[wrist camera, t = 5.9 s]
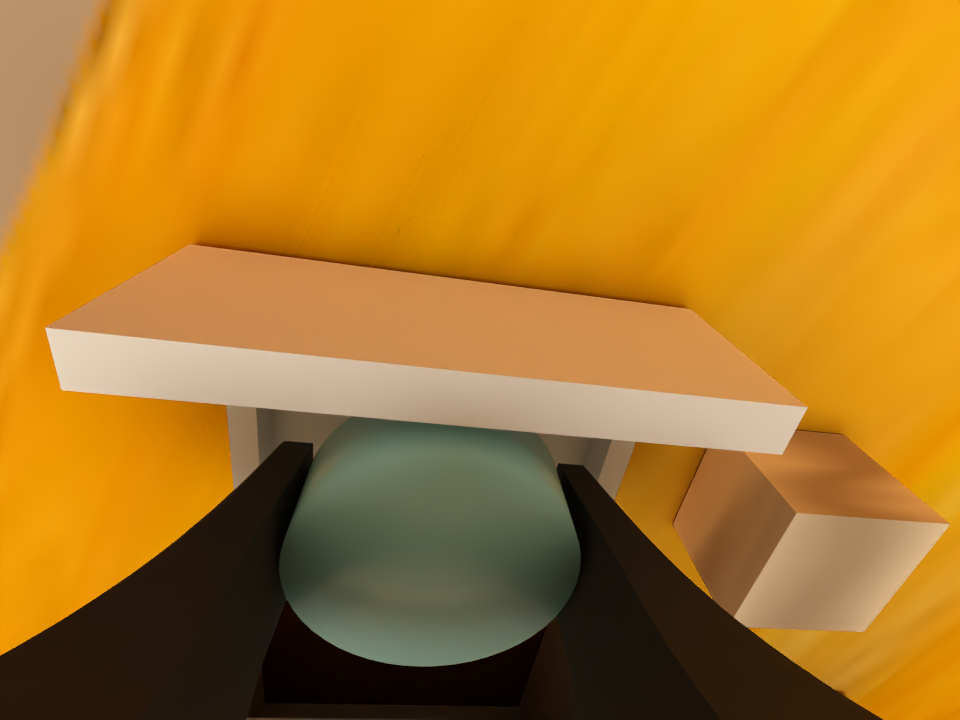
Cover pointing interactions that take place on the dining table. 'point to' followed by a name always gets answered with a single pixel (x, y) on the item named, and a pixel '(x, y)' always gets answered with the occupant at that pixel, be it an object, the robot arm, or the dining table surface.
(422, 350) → the tray
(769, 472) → the pedestal
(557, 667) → the block
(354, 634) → the disc
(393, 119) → the dining table surface
